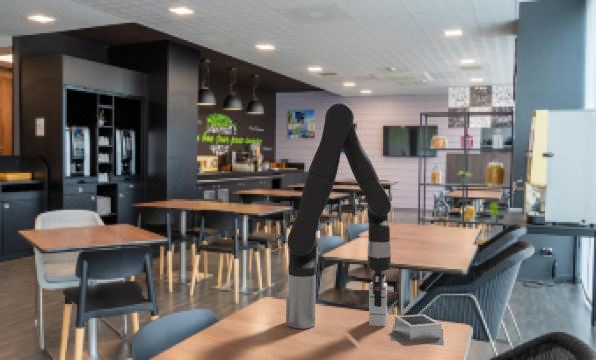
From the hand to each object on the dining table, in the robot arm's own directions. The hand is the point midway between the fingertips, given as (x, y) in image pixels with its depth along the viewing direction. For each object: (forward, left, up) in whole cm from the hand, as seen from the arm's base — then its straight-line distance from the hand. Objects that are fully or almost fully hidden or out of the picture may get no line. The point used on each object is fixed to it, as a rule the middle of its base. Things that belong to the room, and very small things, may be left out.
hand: (379, 302), depth 175 cm
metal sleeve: (+13, -8, -7) cm, 16 cm away
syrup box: (0, 0, -8) cm, 8 cm away
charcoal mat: (+13, -8, -8) cm, 17 cm away
